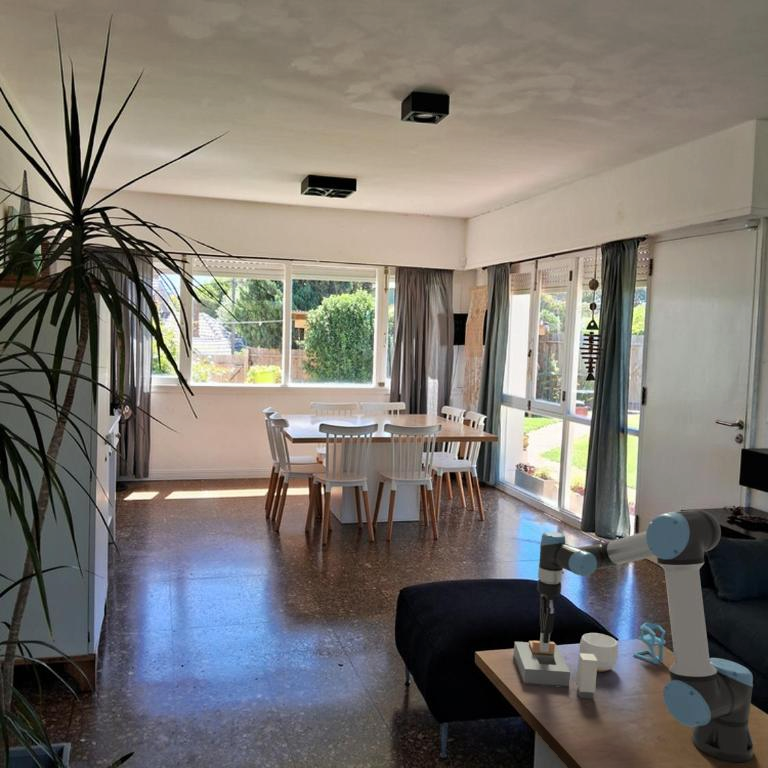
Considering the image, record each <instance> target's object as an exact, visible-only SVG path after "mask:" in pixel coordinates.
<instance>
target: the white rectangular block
mask: <svg viewBox="0 0 768 768" xmlns="http://www.w3.org/2000/svg"><path fill="white" fill-rule="evenodd" d="M597 663H598V660H597V659H596V657H595V656H594V654H585V653H580V652H579V653H578V660H577V671H576V673H577V675H576V682H575V683H576V687H577V688H576V693H577V694H578V697H579V698H581V699H594V696H595V693H596V687H597V686H596V683H597V673H598V672H597Z"/></svg>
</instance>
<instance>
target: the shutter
mask: <svg viewBox="0 0 768 768" xmlns="http://www.w3.org/2000/svg"><path fill="white" fill-rule="evenodd" d="M528 642H529V645H530V647H531V650H532V652H533V653H542V654H554V651H555V644H556V643H555V642H554V641H550V642H549V652H540V650H539V649H540V640H528Z"/></svg>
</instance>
